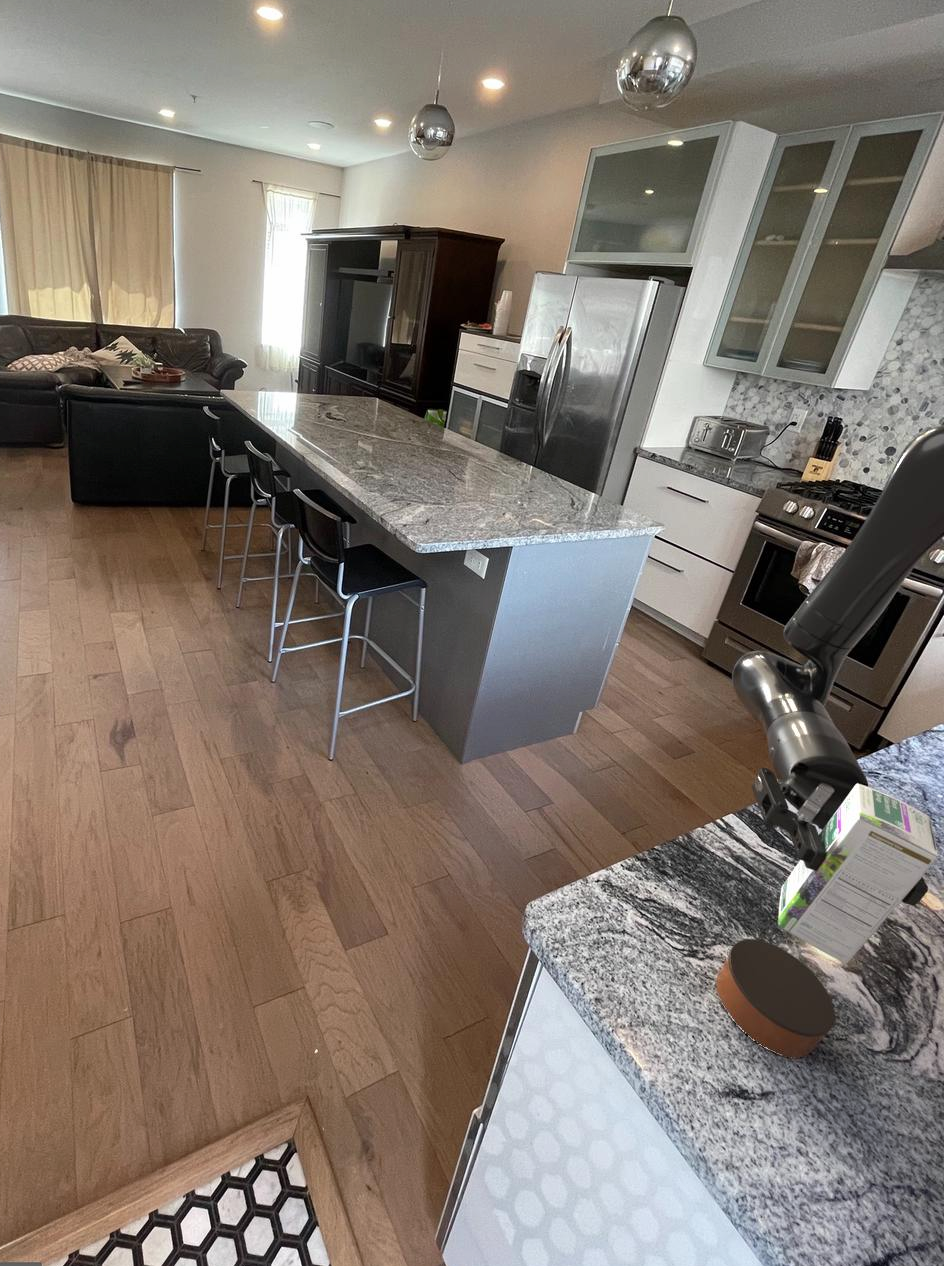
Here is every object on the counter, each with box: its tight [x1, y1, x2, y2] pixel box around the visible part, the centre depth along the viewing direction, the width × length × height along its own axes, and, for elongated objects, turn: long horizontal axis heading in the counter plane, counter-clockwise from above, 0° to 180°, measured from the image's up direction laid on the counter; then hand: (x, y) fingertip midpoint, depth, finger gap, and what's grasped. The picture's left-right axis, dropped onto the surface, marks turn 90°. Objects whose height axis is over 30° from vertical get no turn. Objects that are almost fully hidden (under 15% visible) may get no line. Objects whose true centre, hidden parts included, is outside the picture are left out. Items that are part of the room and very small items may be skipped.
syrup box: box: [777, 784, 940, 965], centre depth 56 cm, size 6×6×14 cm
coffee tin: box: [715, 938, 836, 1059], centre depth 62 cm, size 9×9×4 cm
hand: (865, 880), depth 54 cm, fingers closed on syrup box, 7 cm apart
